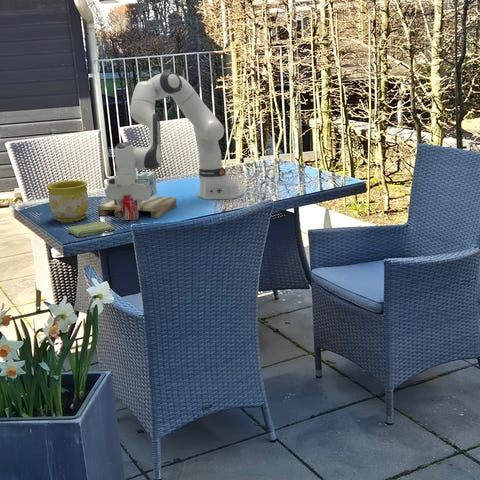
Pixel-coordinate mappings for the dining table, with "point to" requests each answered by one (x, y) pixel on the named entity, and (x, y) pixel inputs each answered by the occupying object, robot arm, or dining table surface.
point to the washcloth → (90, 229)
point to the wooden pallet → (142, 206)
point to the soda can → (129, 207)
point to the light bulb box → (149, 180)
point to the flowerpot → (68, 200)
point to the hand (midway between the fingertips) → (129, 209)
